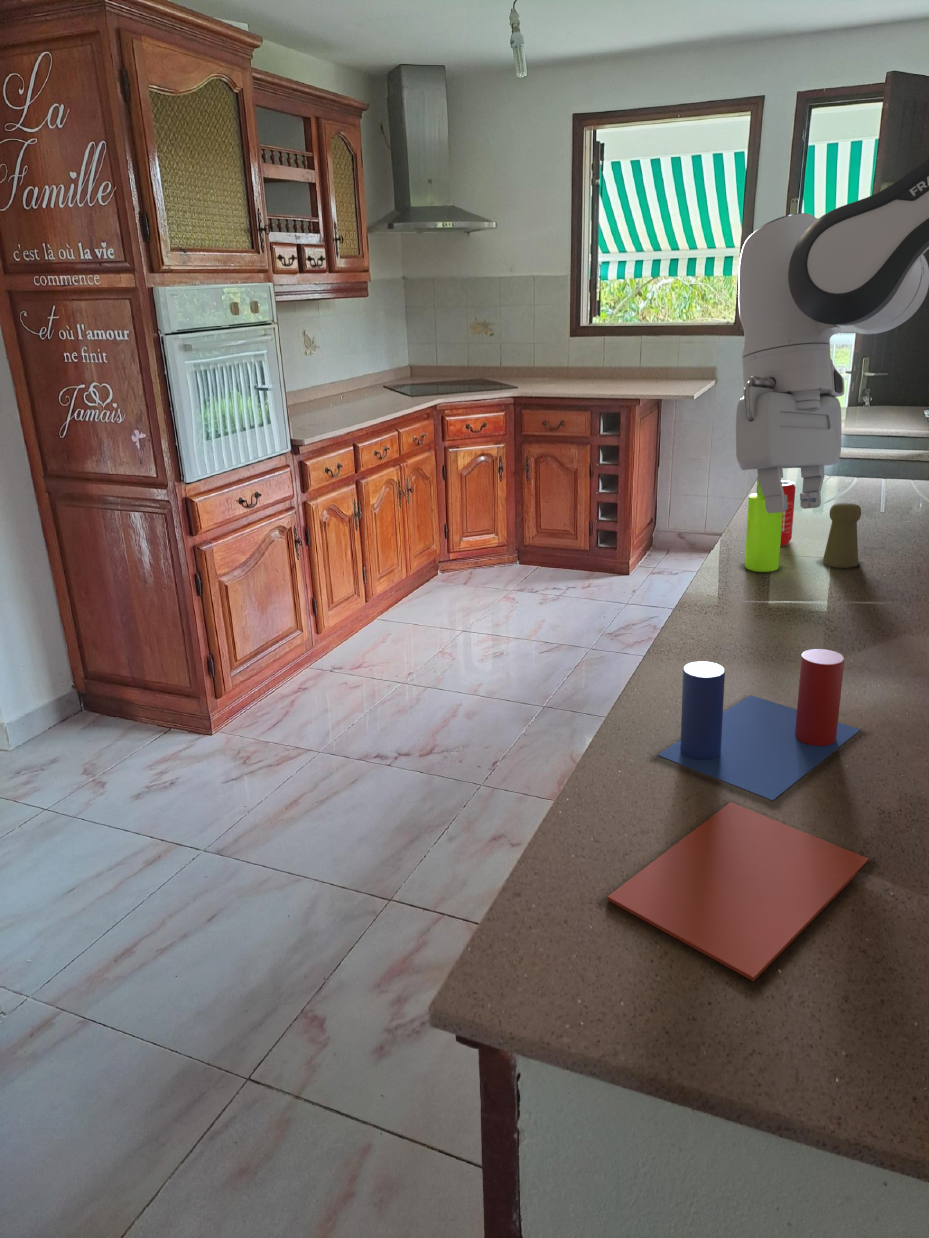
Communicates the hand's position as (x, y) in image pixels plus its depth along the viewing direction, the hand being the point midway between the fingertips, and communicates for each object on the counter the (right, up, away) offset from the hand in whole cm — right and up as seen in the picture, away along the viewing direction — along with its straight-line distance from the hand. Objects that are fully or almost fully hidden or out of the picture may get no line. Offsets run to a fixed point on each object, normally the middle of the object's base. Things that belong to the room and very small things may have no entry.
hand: (794, 510), depth 95 cm
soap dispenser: (+18, -2, +65) cm, 67 cm away
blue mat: (-2, -26, +5) cm, 27 cm away
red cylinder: (+4, -25, +5) cm, 26 cm away
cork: (+32, -2, +64) cm, 72 cm away
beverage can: (+26, +3, +78) cm, 82 cm away
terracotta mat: (-11, -35, -17) cm, 41 cm away
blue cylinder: (-9, -27, +4) cm, 28 cm away
